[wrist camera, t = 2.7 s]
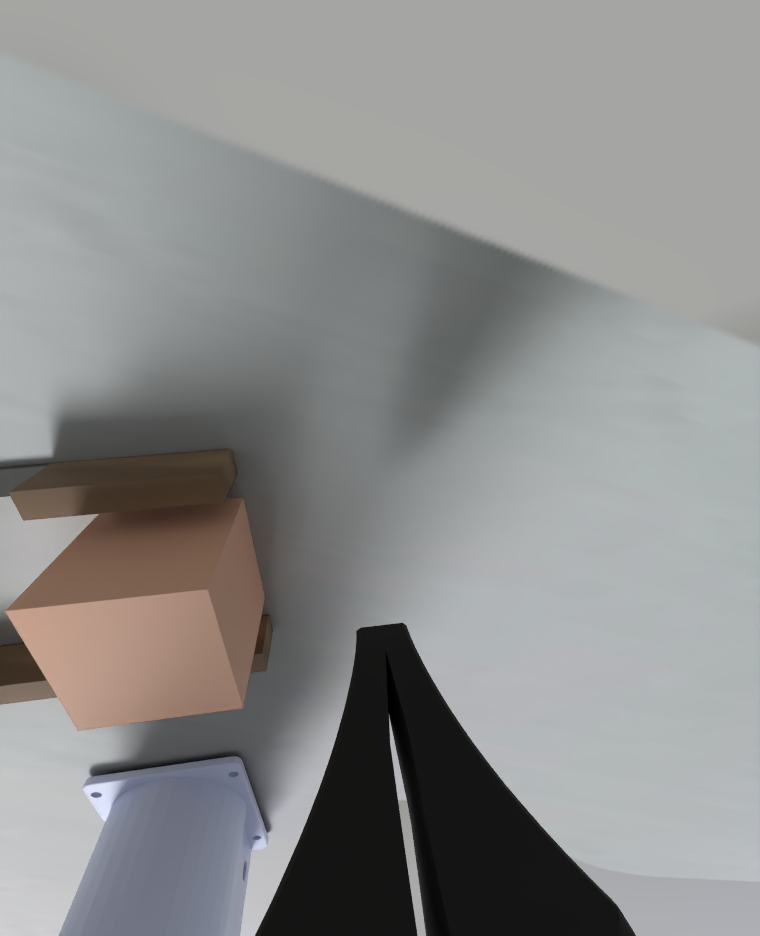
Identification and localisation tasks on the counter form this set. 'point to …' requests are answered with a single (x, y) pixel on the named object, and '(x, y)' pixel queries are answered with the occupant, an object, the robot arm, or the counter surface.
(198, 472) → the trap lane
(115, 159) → the counter surface
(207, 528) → the terracotta block
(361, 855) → the robot arm
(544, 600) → the counter surface
